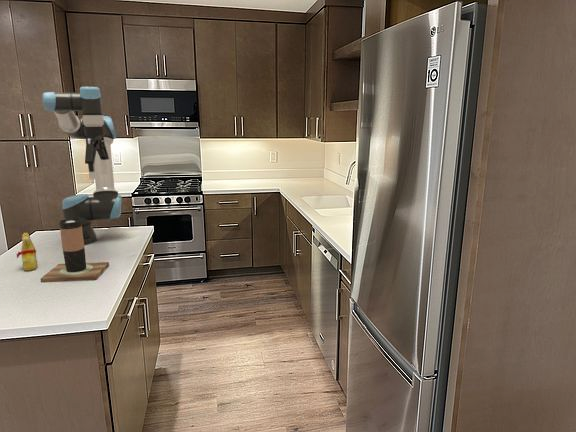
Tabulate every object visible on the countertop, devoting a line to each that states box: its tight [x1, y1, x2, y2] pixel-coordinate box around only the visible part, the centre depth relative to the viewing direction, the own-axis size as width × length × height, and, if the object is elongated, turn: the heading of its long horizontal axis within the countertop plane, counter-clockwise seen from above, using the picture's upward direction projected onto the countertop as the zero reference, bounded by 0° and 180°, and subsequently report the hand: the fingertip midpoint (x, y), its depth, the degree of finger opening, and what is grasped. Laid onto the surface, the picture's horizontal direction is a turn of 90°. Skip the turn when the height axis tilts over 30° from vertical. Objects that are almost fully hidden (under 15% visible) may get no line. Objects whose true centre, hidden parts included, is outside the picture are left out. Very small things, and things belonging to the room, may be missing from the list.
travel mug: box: [58, 218, 87, 272], centre depth 160 cm, size 8×8×20 cm
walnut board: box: [40, 261, 110, 283], centre depth 163 cm, size 16×20×2 cm
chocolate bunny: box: [16, 232, 38, 272], centre depth 168 cm, size 7×11×15 cm, turn 29°
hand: (99, 177), depth 174 cm, fingers open, 13 cm apart
